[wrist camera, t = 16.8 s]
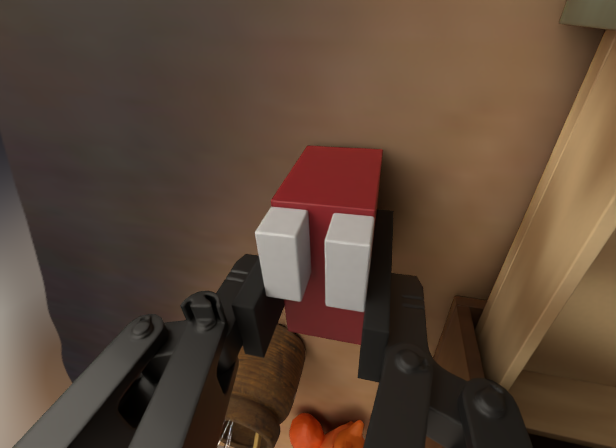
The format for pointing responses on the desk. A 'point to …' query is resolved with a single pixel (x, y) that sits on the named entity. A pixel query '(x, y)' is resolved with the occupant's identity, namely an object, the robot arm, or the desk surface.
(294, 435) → the orange toy bird
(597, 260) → the drawer
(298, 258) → the red base white blocks
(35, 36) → the desk surface
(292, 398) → the utensil holder
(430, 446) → the cabinet
